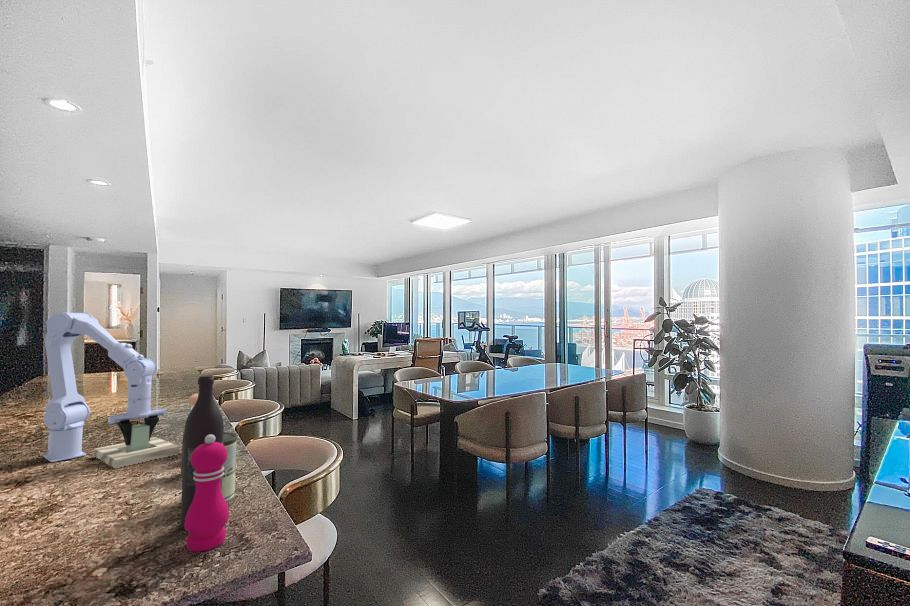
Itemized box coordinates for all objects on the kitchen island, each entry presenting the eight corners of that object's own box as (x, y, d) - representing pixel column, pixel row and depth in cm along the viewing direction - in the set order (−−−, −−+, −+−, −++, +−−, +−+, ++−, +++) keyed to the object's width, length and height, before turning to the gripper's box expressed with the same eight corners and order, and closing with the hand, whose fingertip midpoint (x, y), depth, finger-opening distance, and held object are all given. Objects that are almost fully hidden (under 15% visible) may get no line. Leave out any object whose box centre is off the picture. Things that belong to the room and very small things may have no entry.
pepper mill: (196, 533, 80) (200, 429, 81) (235, 532, 81) (238, 429, 82) (174, 554, 73) (179, 440, 74) (217, 552, 74) (221, 439, 75)
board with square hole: (94, 456, 126) (94, 448, 126) (155, 444, 139) (155, 436, 139) (115, 469, 115) (115, 459, 116) (178, 454, 129) (179, 446, 129)
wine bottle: (178, 534, 80) (184, 379, 81) (182, 519, 86) (188, 375, 88) (219, 526, 83) (224, 377, 85) (221, 512, 89) (226, 373, 91)
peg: (125, 453, 127) (127, 426, 127) (142, 449, 130) (144, 423, 131) (131, 455, 124) (132, 428, 124) (148, 451, 128) (149, 425, 128)
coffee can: (179, 511, 90) (182, 445, 91) (189, 493, 99) (191, 434, 100) (233, 503, 94) (235, 440, 95) (237, 487, 103) (239, 430, 104)
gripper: (115, 403, 120) (112, 450, 119) (171, 396, 132) (169, 439, 131) (106, 400, 124) (104, 446, 123) (162, 394, 136) (160, 436, 135)
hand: (137, 442), depth 127 cm, fingers closed on peg, 4 cm apart
